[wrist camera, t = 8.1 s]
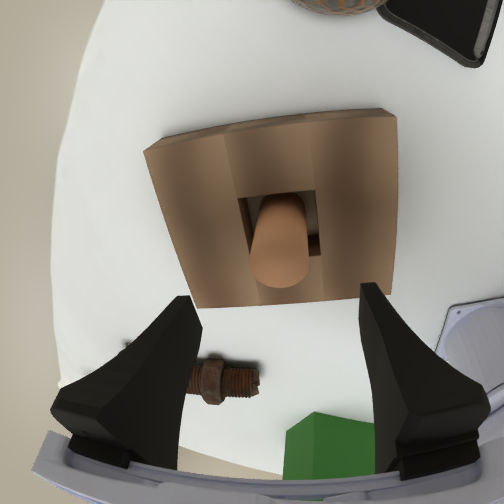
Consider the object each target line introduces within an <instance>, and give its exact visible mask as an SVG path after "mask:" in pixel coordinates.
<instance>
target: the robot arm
mask: <svg viewBox="0 0 504 504" xmlns="http://www.w3.org/2000/svg"><path fill="white" fill-rule="evenodd" d="M359 327H360V336H361V342H362V347H363V351H364V356H365V360H366V365H367V369H368V374H369V379H370V384H371V390H372V399H373V412H374V430H375V474H374V475H366V476H357V477H347V478H335V479H317V480H261V479H260V480H259V479H243V478H229V477H219V476H211V475H203V474H196V473H189V472H182V471H177V459H178V444H179V433H180V425H181V418H182V411H183V405H184V400H185V395H186V391H187V387H188V384H189V381H190V378H191V374H192V371H193V368H194V365H195V361H196V358H197V355H198V351H199V348H200V342H201V336H202V329H203V328H202V325H201V323H200V320H199V318H198V315H197V313H196V310H195V308H194V305H193V303H192V300H191V297H190V295H187V296H177V297H176V298H175V299H174V300H173V301H172V302H171V303H170V304H169V305H168V306H167V307H166V308H165V309H164V310H163V311H162V313H161V314H160V315H159V316H158V317H157V318H156V319H155V320H154V321H153V322H152V323H151V324H150V325H149V326H148V328H147V329H146V330H144V331H143V332H142V333H141V334H140V335H139V336H138V337H137V338H136V339H135V340H134V341H133V342H132V343H131V344H130V345H129V346H128V347H127V348H125V349H124V350H123V351H122V352H121V353H119V354H118V355H117V356H116V357H114V358H113V359H111V360H110V361H109V362H107V363H106V364H104V365H103V366H102V367H100V368H99V369H97V370H95V371H94V372H92V373H91V374H89V375H87V376H85V377H83V378H82V379H80V380H78V381H76V382H74V383H71V384H69V385H67V386H65V387H63V388H61V389H60V391H59V393H58V395H57V397H56V399H55V401H54V403H53V405H52V407H51V409H50V411H51V414H52V415H53V417H54V418H55V419H56V420H57V421H58V422H59V423H60V424H62V425H63V426H64V427H65V428H66V429H67V430H69V431H70V432H71V433H72V434H73V435H72V437H71V439H70V438H68V437H66V436H64V435H61V434H59V433H56V432H53V431H51V430H50V431H48V433H47V435H46V438H45V440H44V442H43V444H42V447H41V449H40V451H39V454H38V456H37V458H36V460H35V463H34V465H33V468H32V473H34V474H36V475H37V476H39V477H40V478H42V479H44V480H46V481H47V482H49V483H50V484H52V485H54V486H56V487H57V488H59V489H61V490H63V491H65V492H67V493H69V494H71V495H74V496H76V497H78V498H80V499H83V500H85V501H87V502H90V503H92V504H504V298H500V299H495V300H490V301H484V302H479V303H473V304H467V305H461V306H455V307H452V308H451V309H450V310H449V312H448V316H447V319H446V322H445V325H444V328H443V332H442V335H441V338H440V341H439V343H438V346H437V349H436V352H434V351H432V350H431V349H430V348H429V347H428V346H427V345H426V344H425V343H424V342H423V341H422V340H421V339H420V338H419V337H418V336H417V335H416V334H415V333H414V332H413V331H412V330H411V328H410V327H409V326H408V325H407V324H406V323H405V321H404V320H403V319H402V318H401V317H400V315H399V314H398V313H397V312H396V310H395V309H394V308H393V306H392V305H391V304H390V302H389V301H388V300H387V298H386V297H385V295H384V294H383V292H382V291H381V289H380V288H379V286H378V285H377V283H375V282H369V283H360V301H359ZM448 360H449V362H450V364H448V363H447V362H446V361H448ZM313 499H324V500H323V501H299V500H313Z"/></svg>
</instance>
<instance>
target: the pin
mask: <svg viewBox="0 0 504 504" xmlns="http://www.w3.org/2000/svg"><path fill="white" fill-rule="evenodd" d="M249 268H250V271H251V273H252V275H253V276H254V277H255V278H256V279H257V280H258V281H259V282H261V283H262V284H264V285H266V286H269V287H273V288H286V287H290V286H293V285H295V284H297V283H299V282H300V281H301V280H302V279H303V278H304V277H305V276H306V274H307V272H308V269H309V255H308V239H307V224H306V211H305V205H304V202H303V201H302V199H301V198H300V197H299V196H298V195H297V194H295V193H293V192H287V193H277V194H269V195H267V196H266V197H265V198H264V199H263V200H262V202H261V205H260V210H259V214H258V219H257V224H256V229H255V234H254V238H253V243H252V248H251V253H250V257H249Z"/></svg>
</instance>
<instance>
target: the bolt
mask: <svg viewBox="0 0 504 504" xmlns="http://www.w3.org/2000/svg"><path fill="white" fill-rule="evenodd" d="M122 351H123V350H122ZM122 351H120V352H119V353H121V352H122ZM119 353H118V354H119ZM259 385H260V380H259V372H258V371H257V370H256V369H254V370H253V369H252V368H251V369H249V368H248V369H246V368H244V369H243V368H241V369H240V368H238V369H237V368H236V367H235V368H233V367H232V368H231V369H230V367H228V368H227V367H226V364H225V362H224V361H223V360H222V359H211V358H209V359H208V360H206V361H205V362H204V364H203V366H201V365H200V366H198V365H196V366H195V365H194V368H193V371H192V374H191V378H190V381H189V384H188V387H187V391H186V393H187V394H196V395H202V398H203V400H204V401H205V402H206V403H207V404H212V405H219V404H221V403H222V402H223V401H224V400H225V397H227V396H228V397H234V396H235V397H237V396H238V397H239V398H240V397H242V398H244V396H245V397H246V398H247V397H249V398H250V397H251V396H254V395H257V394H259V391H258V387H257V386H259Z"/></svg>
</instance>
